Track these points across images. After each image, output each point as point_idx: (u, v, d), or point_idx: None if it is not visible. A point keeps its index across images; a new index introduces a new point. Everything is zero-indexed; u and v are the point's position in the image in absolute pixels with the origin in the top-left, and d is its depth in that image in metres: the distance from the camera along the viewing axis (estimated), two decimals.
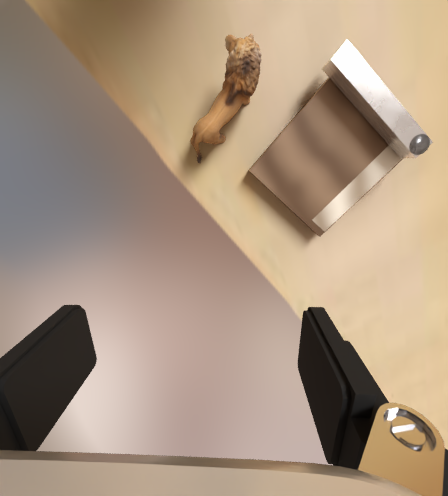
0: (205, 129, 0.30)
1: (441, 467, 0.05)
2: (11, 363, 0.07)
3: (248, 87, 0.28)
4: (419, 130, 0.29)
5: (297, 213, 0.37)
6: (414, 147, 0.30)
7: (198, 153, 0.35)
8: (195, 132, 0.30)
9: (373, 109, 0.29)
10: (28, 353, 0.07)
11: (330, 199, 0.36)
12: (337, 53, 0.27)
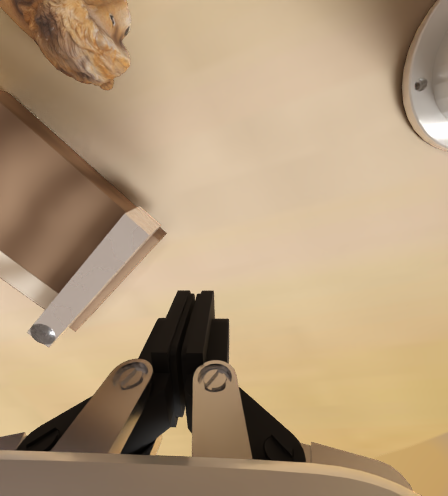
0: None
1: (237, 389, 0.06)
2: (173, 336, 0.08)
3: (41, 46, 0.14)
4: (58, 332, 0.23)
5: None
6: (38, 329, 0.23)
7: None
8: None
9: (73, 276, 0.21)
10: (178, 329, 0.08)
11: None
12: (132, 222, 0.18)
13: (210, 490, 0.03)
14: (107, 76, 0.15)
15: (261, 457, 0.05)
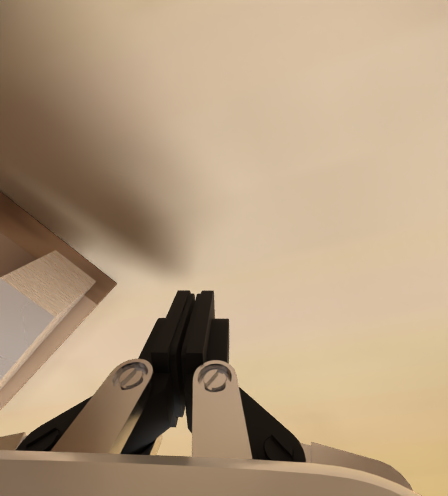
0: None
1: (237, 389, 0.06)
2: (173, 336, 0.08)
3: None
4: None
5: None
6: None
7: None
8: None
9: None
10: (178, 329, 0.08)
11: None
12: (19, 294, 0.09)
13: (210, 490, 0.03)
14: None
15: (261, 457, 0.05)
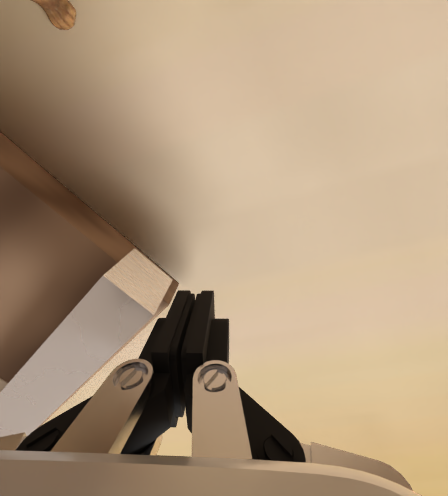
0: None
1: (237, 389, 0.06)
2: (173, 336, 0.08)
3: None
4: None
5: None
6: None
7: None
8: None
9: (11, 380, 0.11)
10: (178, 329, 0.08)
11: None
12: (120, 292, 0.09)
13: (210, 490, 0.03)
14: None
15: (261, 457, 0.05)
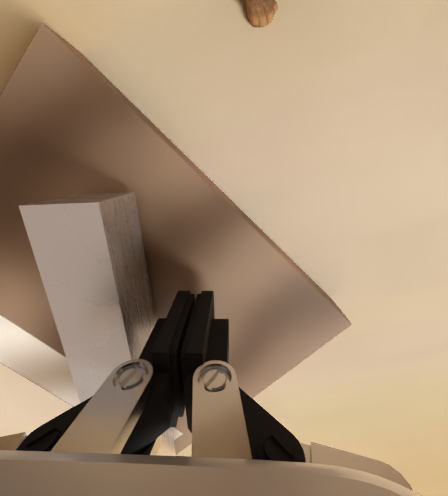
0: None
1: (237, 389, 0.06)
2: (173, 336, 0.08)
3: None
4: None
5: None
6: None
7: None
8: None
9: (82, 394, 0.10)
10: (178, 329, 0.08)
11: (7, 312, 0.12)
12: (49, 209, 0.07)
13: (210, 490, 0.03)
14: None
15: (261, 457, 0.05)
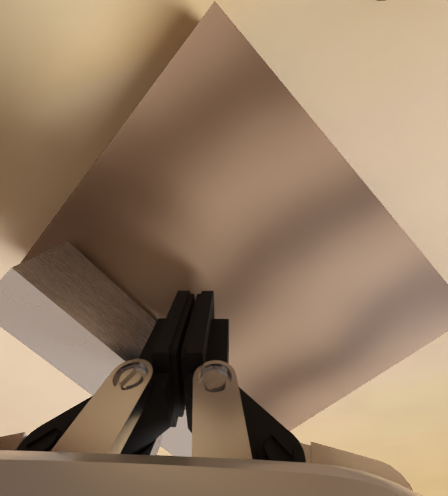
0: None
1: (237, 389, 0.06)
2: (173, 336, 0.08)
3: None
4: None
5: (70, 206, 0.11)
6: None
7: None
8: None
9: None
10: (178, 329, 0.08)
11: None
12: None
13: (210, 490, 0.03)
14: None
15: (261, 457, 0.05)
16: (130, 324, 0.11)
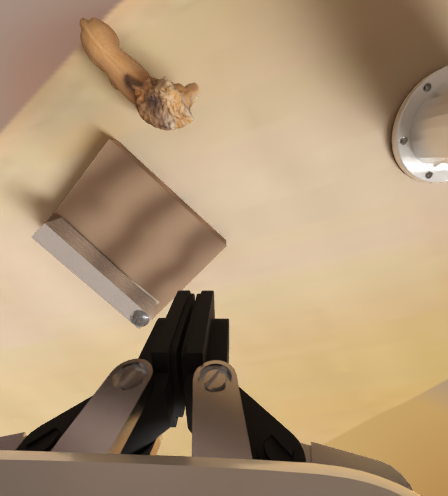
0: (89, 35, 0.20)
1: (237, 389, 0.06)
2: (173, 336, 0.08)
3: (140, 108, 0.22)
4: (136, 307, 0.30)
5: (63, 204, 0.29)
6: (135, 320, 0.30)
7: None
8: (90, 19, 0.21)
9: (87, 283, 0.29)
10: (178, 329, 0.08)
11: None
12: (37, 232, 0.27)
13: (210, 490, 0.03)
14: None
15: (261, 457, 0.05)
16: (86, 248, 0.29)
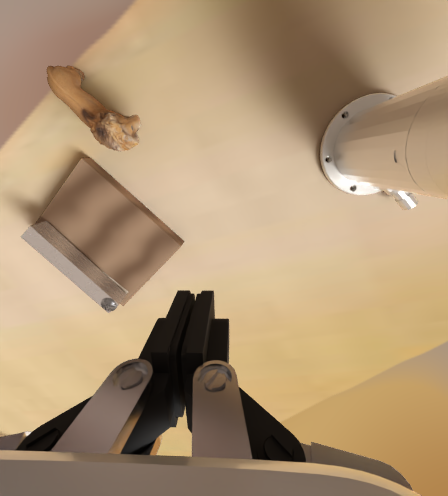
0: (53, 80, 0.26)
1: (238, 389, 0.06)
2: (173, 336, 0.08)
3: (94, 135, 0.28)
4: (105, 295, 0.36)
5: (47, 209, 0.36)
6: (105, 305, 0.37)
7: None
8: (54, 67, 0.27)
9: (66, 275, 0.35)
10: (178, 329, 0.08)
11: None
12: (25, 233, 0.33)
13: (210, 490, 0.03)
14: None
15: (261, 457, 0.05)
16: (65, 246, 0.36)
